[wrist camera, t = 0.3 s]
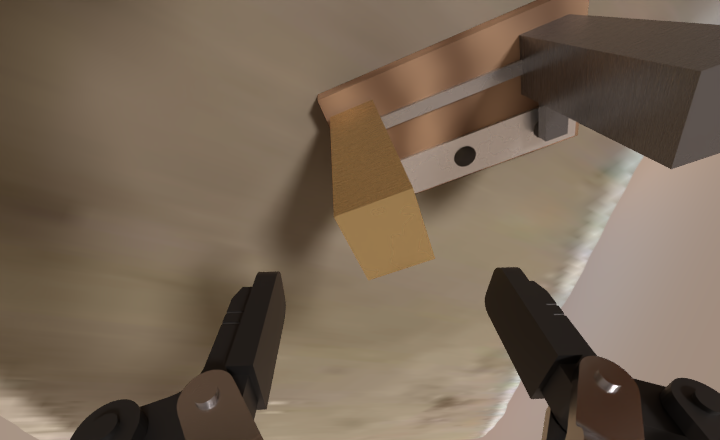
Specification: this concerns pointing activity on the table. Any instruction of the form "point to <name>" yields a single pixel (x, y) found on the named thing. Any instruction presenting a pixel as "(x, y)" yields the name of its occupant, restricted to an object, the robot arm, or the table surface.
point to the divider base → (449, 73)
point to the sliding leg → (374, 195)
